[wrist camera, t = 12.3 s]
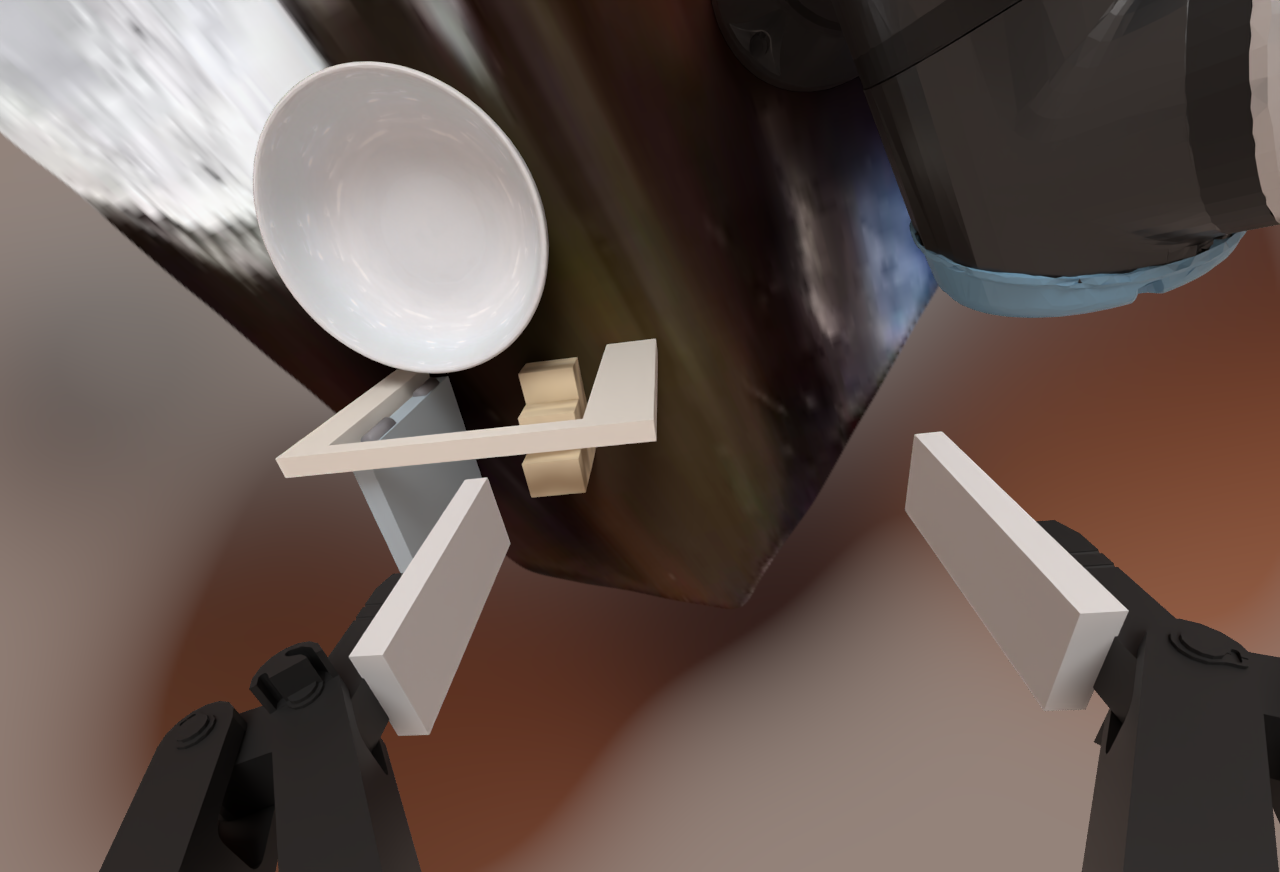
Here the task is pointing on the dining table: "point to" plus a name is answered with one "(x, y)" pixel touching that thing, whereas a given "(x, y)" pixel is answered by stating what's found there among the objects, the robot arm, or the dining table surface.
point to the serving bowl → (400, 217)
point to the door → (415, 471)
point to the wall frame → (610, 418)
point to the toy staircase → (551, 399)
